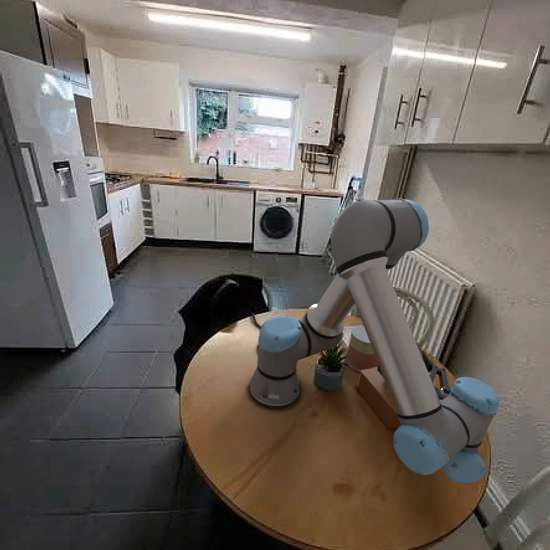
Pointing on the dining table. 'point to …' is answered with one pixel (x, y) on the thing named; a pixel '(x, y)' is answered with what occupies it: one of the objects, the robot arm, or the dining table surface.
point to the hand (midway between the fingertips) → (401, 352)
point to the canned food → (360, 350)
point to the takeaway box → (378, 396)
